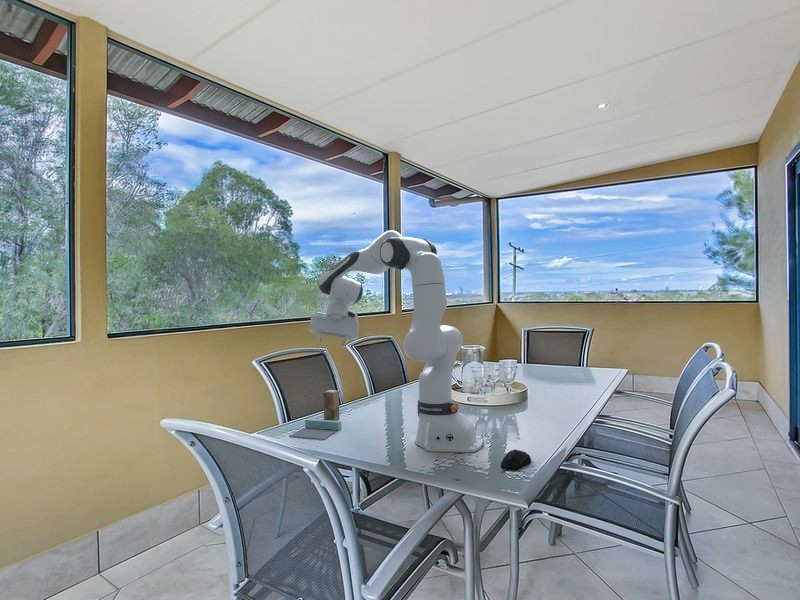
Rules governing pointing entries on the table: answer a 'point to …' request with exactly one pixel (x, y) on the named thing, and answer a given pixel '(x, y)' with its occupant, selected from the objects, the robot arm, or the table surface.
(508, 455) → the gaming mouse
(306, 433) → the rubber mat
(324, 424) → the teal rail
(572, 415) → the table surface
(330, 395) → the walnut block
